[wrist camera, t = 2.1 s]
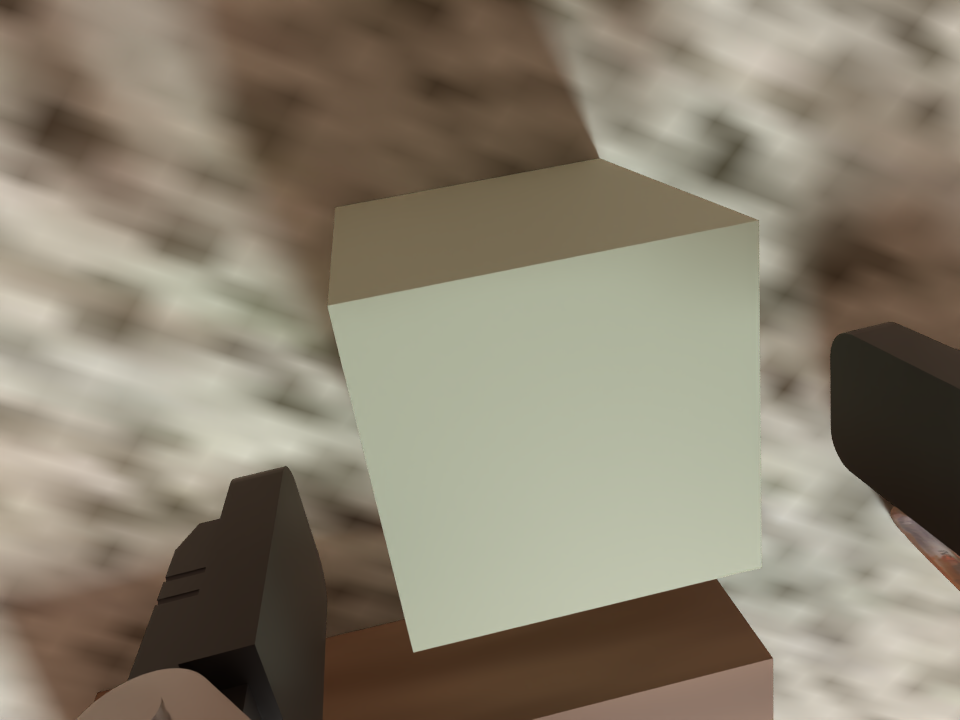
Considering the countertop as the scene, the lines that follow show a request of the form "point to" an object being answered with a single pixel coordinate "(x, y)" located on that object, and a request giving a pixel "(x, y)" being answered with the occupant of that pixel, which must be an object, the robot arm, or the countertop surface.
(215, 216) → the countertop surface
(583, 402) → the sage block
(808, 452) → the countertop surface
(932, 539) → the tin
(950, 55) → the countertop surface
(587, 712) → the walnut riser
